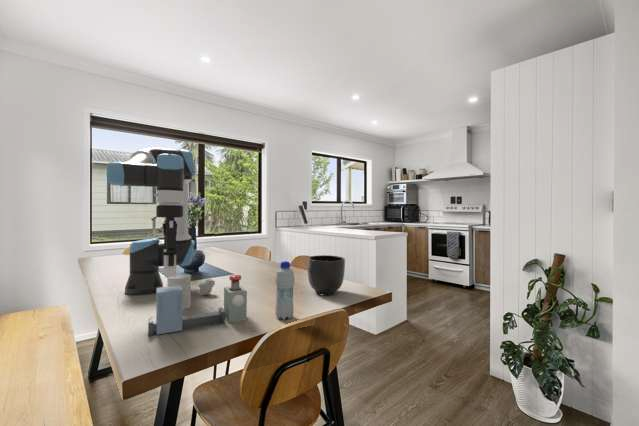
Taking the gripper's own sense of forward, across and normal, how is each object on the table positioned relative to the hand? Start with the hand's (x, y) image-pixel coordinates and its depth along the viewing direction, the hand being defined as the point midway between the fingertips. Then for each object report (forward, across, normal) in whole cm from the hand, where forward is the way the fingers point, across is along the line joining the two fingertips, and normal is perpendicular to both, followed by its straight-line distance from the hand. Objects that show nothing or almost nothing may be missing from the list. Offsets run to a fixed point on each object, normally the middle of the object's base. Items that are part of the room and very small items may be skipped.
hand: (169, 272), depth 96 cm
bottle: (+18, +6, +36) cm, 41 cm away
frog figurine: (+18, -35, +16) cm, 43 cm away
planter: (+18, -15, +66) cm, 70 cm away
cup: (+18, -22, +4) cm, 29 cm away
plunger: (+11, -2, +21) cm, 24 cm away
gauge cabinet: (+18, -2, +21) cm, 28 cm away
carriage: (+18, 0, 0) cm, 18 cm away
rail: (+18, 0, +6) cm, 19 cm away
